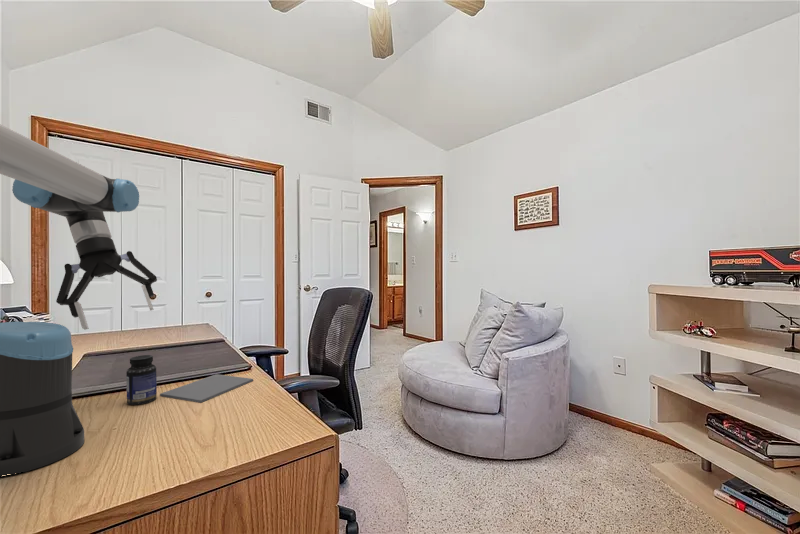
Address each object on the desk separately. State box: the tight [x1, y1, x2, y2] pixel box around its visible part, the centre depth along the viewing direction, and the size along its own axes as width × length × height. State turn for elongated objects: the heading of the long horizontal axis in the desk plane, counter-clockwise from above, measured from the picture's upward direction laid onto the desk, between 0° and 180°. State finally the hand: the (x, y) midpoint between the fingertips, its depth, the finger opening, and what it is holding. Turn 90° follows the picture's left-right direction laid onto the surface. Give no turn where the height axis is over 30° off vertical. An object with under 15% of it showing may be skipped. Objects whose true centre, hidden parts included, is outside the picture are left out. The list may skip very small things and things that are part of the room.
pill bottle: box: [125, 354, 158, 406], centre depth 90 cm, size 6×6×11 cm
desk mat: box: [159, 373, 254, 404], centre depth 100 cm, size 18×14×1 cm
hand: (120, 318), depth 90 cm, fingers open, 13 cm apart
